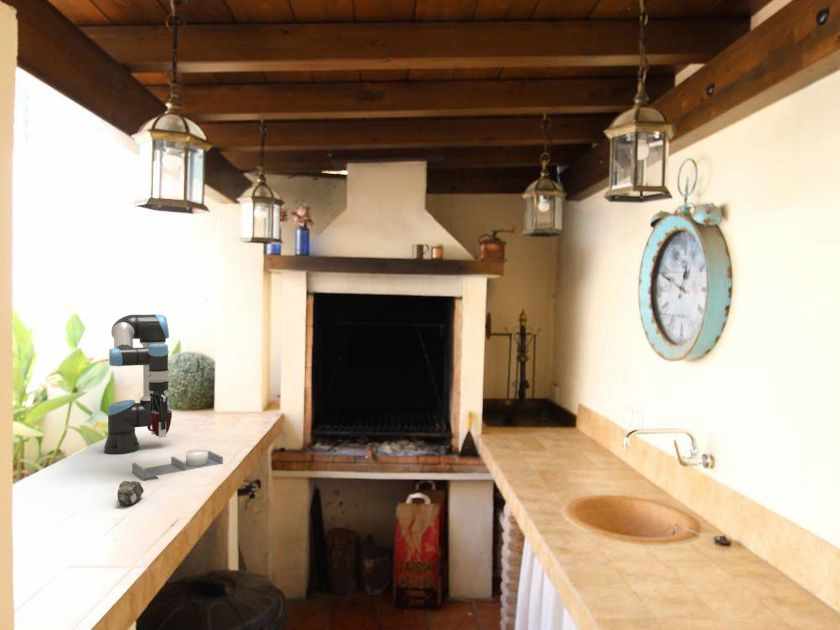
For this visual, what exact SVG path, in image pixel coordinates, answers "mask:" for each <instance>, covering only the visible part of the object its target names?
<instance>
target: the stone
mask: <svg viewBox="0 0 840 630" xmlns="http://www.w3.org/2000/svg"><path fill="white" fill-rule="evenodd" d="M143 493H145V492H144V488H143V486H142V484H141V482H139V481H135V480H131V481H130V480H129V481H128V480H122V482H120V484H119V485H118V490H117V494H116V495H117V500H118V502H119V506H121V507H125V506H129V505H131V506H132V505H134V504H135V503H136V502H138V501H139V500H140V499H141V497H142V496H143Z"/></svg>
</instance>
